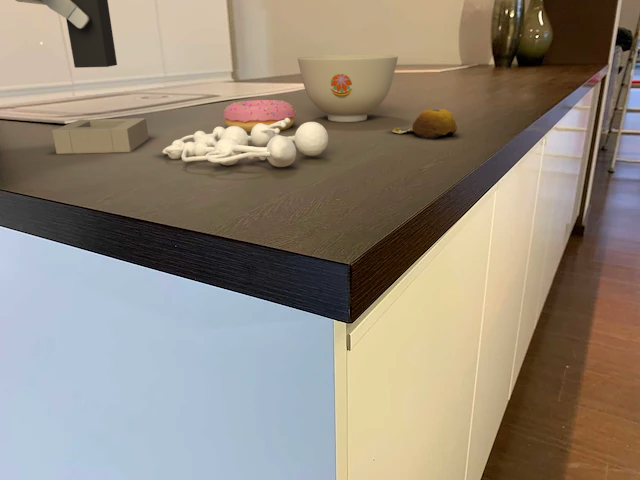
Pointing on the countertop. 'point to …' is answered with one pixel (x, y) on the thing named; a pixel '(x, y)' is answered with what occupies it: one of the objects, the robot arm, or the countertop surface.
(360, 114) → the bowl
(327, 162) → the countertop surface
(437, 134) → the fruit
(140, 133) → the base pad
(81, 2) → the black orange-banded block
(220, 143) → the tangled rod sculpture
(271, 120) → the doughnut
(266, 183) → the countertop surface
